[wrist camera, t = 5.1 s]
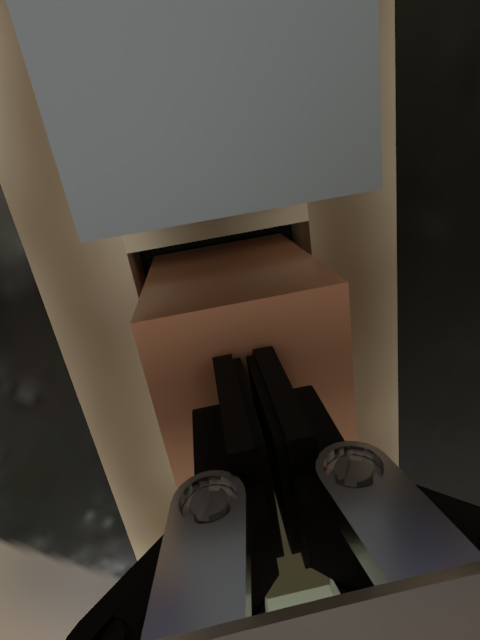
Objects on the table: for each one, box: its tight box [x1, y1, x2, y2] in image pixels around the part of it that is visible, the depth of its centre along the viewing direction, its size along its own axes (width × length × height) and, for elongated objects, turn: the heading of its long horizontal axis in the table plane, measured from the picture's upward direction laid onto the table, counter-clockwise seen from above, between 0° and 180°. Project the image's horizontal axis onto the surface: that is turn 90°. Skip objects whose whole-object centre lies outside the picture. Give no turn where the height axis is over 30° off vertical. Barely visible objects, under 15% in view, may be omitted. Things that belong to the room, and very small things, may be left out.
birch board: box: [0, 0, 399, 561], centre depth 18 cm, size 14×26×3 cm, turn 9°
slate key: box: [6, 0, 383, 243], centre depth 10 cm, size 6×6×8 cm
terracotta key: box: [130, 233, 357, 489], centre depth 15 cm, size 6×6×8 cm
